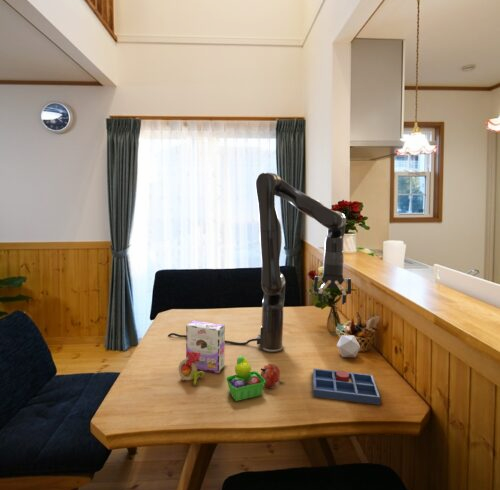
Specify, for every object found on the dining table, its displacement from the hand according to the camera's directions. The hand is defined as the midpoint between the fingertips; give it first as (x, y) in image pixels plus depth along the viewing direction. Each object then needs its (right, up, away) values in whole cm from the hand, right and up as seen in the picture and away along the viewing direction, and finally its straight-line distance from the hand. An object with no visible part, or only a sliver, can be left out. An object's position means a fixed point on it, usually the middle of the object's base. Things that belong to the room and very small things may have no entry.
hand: (331, 303), depth 136 cm
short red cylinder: (+1, -24, -14) cm, 28 cm away
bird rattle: (-53, -24, -15) cm, 60 cm away
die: (+9, -24, +8) cm, 27 cm away
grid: (0, -25, -17) cm, 30 cm away
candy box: (-49, -23, -4) cm, 55 cm away
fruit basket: (-34, -25, -21) cm, 47 cm away
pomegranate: (-25, -25, -16) cm, 38 cm away
